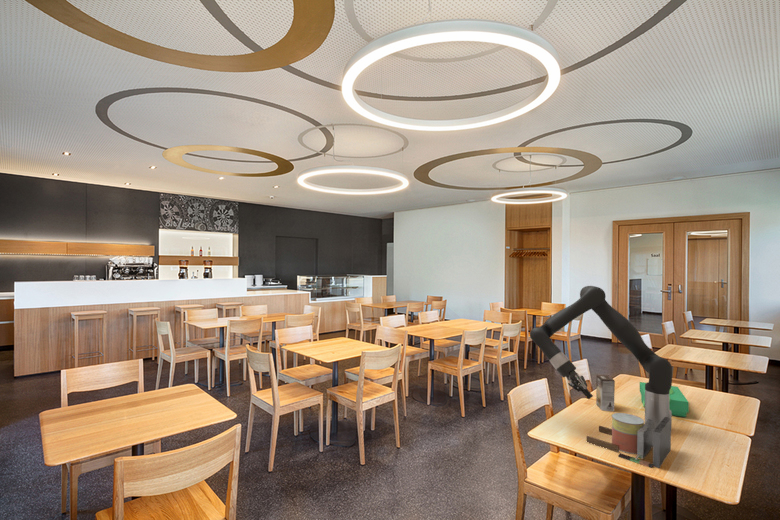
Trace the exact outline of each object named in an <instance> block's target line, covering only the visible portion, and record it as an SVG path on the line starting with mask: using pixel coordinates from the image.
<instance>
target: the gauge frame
mask: <svg viewBox="0 0 780 520" xmlns="http://www.w3.org/2000/svg"><path fill="white" fill-rule="evenodd" d="M598 433H602V434H606V435H607V436H608V435H609V436H611V437H612V428H609V427H606V426H603V425H598ZM671 439H672V421H671V418H667V417H665V418H664V419H663V420H662V421H661V422H660V424H659V425H658V426H657V427H656V429H655V430H654V431H653V447H652V462H650V461H647V460H644V459H641V458H638V459H637V460H636V459H635V457H636V456H631V455H627V454H624V453H621V452H620V451H619V445H616V444H613V443H612V442H610V441H606V440H603V439H600V438H596V437H593V436H590V435H586V441H587V442H589V443H588V444H590V443H592V444H591V445H594V444H595V445H594V446H598V447H600V446H601V447H600V448H603V447H604V448H603V449H606V448H607V449H606V450H609V451H612V452H615V453H619V454H617V455H618V457H619V458H620V459H624V460H625V461H626V460H627V461H629V462H633V463H636V464H639V465H642V466H645V467H648V468H650V469H652V468H653V467H654V468H657V469H660V468H661V467H662V465H663V463H664V462H665V461H666V459H667V457H668V455H669V454H670V452H671V449H672V448H671V447H672V443H671V441H672V440H671ZM587 442H586V443H587Z"/></svg>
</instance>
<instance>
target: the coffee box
mask: <svg viewBox="0 0 780 520" xmlns="http://www.w3.org/2000/svg"><path fill="white" fill-rule="evenodd" d="M595 380H596V383H595V384H596V386H595V387H596V390H595V393H596V396H595V397H596V398H595V400H596V402H595V404H596V406H597V407H598V408H599V410H601V411H603V412H615V393H616V392H615V388H616V387H615V385H616V380H615V379H613V378H612V377H611V376H610V375H605V374H596V379H595Z"/></svg>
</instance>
